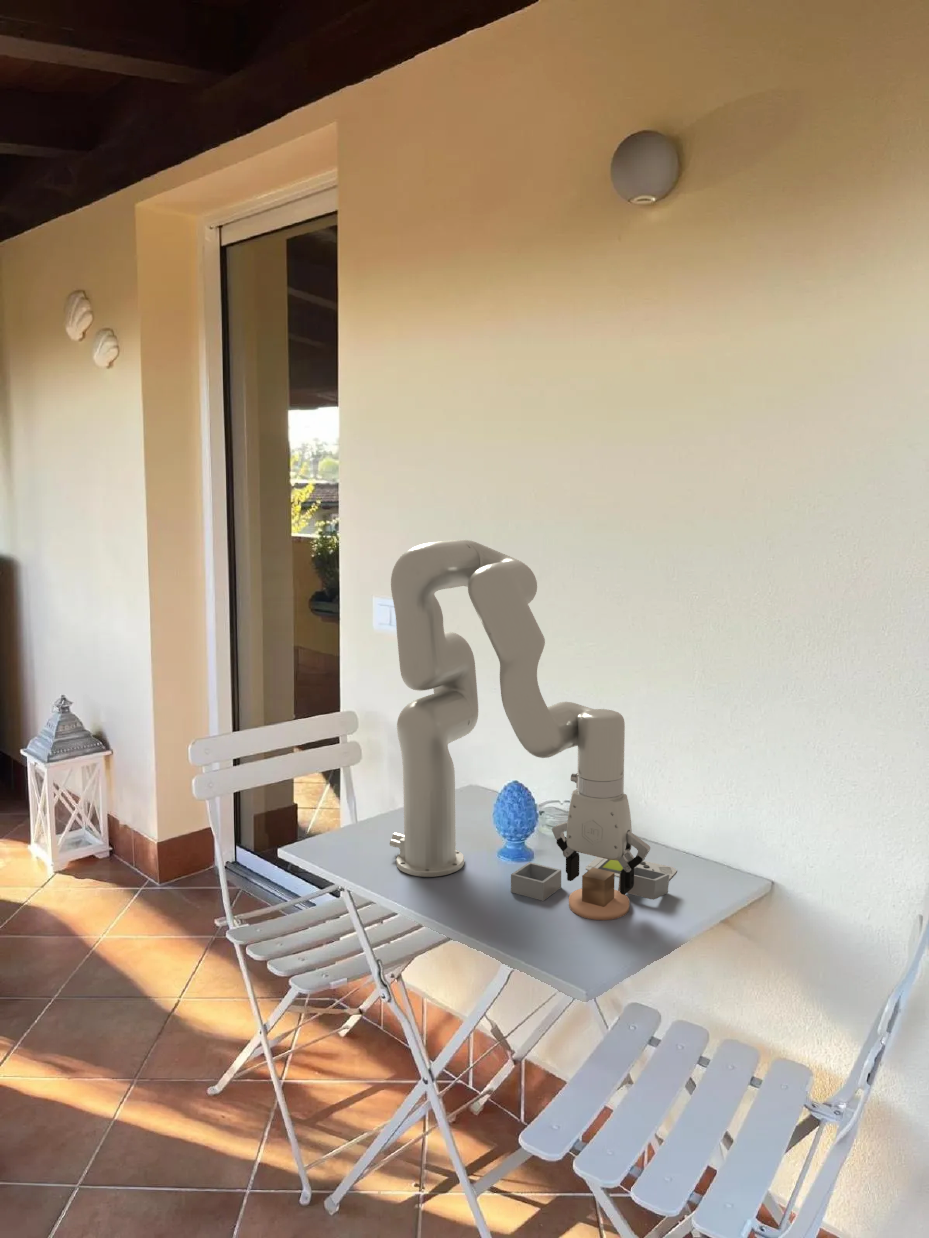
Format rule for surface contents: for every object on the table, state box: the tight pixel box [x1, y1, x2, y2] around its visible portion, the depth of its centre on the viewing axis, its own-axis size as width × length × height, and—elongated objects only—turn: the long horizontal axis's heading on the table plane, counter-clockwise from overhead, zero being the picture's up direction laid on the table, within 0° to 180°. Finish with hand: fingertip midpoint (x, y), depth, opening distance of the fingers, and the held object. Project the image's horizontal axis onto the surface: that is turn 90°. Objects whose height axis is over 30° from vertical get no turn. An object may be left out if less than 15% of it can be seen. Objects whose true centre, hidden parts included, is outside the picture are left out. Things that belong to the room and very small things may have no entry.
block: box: [581, 868, 616, 907], centre depth 156 cm, size 4×4×4 cm
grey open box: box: [510, 861, 562, 901], centre depth 163 cm, size 6×6×3 cm
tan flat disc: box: [568, 887, 630, 921], centre depth 157 cm, size 10×10×1 cm
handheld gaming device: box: [585, 857, 677, 881], centre depth 172 cm, size 9×1×15 cm
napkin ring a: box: [617, 867, 670, 901], centre depth 161 cm, size 6×6×3 cm
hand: (599, 884), depth 156 cm, fingers open, 9 cm apart
